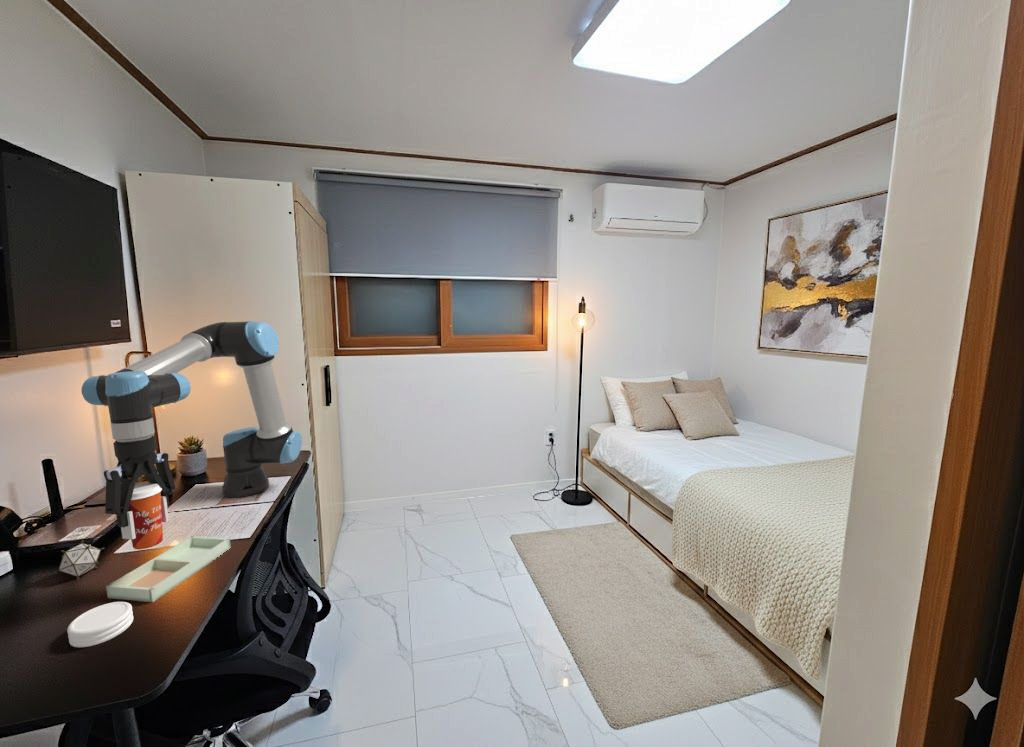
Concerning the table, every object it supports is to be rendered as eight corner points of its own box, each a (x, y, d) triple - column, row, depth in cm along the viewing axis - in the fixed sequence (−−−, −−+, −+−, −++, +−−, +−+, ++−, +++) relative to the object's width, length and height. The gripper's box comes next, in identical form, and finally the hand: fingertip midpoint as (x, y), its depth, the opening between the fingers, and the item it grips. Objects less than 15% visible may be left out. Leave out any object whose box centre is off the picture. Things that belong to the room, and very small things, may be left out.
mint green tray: (193, 546, 126) (191, 536, 126) (230, 548, 124) (229, 538, 124) (107, 598, 103) (106, 586, 103) (152, 602, 101) (151, 590, 101)
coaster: (83, 622, 95) (81, 607, 95) (141, 610, 99) (139, 595, 98) (58, 655, 86) (55, 639, 86) (123, 639, 90) (120, 624, 89)
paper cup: (145, 553, 102) (137, 495, 100) (118, 550, 103) (110, 493, 102) (176, 536, 110) (170, 482, 108) (151, 534, 111) (144, 481, 109)
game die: (75, 592, 112) (36, 575, 105) (86, 565, 118) (49, 548, 112) (110, 571, 113) (73, 553, 107) (118, 545, 120) (84, 527, 113)
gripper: (161, 426, 114) (171, 510, 117) (71, 450, 93) (86, 551, 96) (186, 426, 113) (196, 511, 116) (101, 451, 92) (116, 553, 95)
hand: (146, 529), depth 106 cm, fingers closed on paper cup, 8 cm apart
